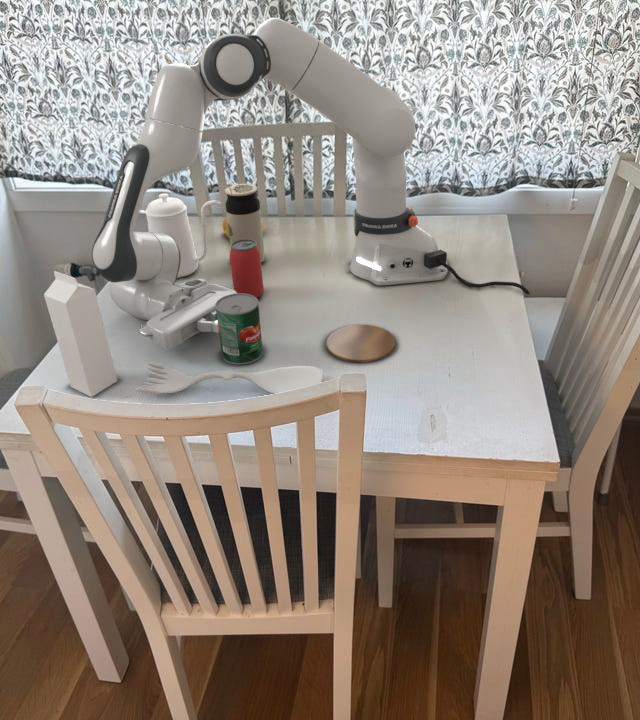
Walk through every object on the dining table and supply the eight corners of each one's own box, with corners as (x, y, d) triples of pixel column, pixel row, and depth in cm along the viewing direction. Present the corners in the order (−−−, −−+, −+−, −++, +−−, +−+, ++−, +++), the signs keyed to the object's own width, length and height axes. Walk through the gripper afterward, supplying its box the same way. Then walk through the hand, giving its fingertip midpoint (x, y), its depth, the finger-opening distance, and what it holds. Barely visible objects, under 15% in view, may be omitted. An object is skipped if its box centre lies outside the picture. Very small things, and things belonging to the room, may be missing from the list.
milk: (96, 371, 127) (68, 263, 115) (118, 381, 124) (91, 271, 112) (70, 387, 123) (38, 277, 111) (91, 398, 119) (60, 285, 108)
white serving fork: (152, 374, 125) (148, 359, 123) (325, 373, 122) (324, 357, 120) (138, 404, 117) (135, 387, 115) (323, 402, 115) (322, 386, 113)
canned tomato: (225, 343, 133) (218, 293, 127) (265, 342, 132) (260, 292, 126) (218, 365, 126) (211, 313, 120) (260, 365, 126) (255, 313, 120)
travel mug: (265, 253, 169) (258, 182, 159) (264, 266, 162) (257, 193, 152) (233, 255, 169) (224, 184, 159) (231, 268, 162) (222, 195, 152)
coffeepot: (224, 279, 157) (214, 201, 147) (121, 280, 160) (104, 203, 150) (233, 260, 166) (224, 185, 156) (135, 260, 169) (120, 187, 159)
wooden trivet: (393, 327, 135) (393, 324, 134) (395, 362, 124) (395, 360, 124) (328, 327, 136) (328, 324, 136) (324, 362, 125) (324, 359, 125)
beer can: (270, 293, 150) (265, 242, 144) (248, 304, 146) (242, 252, 140) (249, 285, 154) (244, 235, 147) (228, 295, 150) (221, 245, 144)
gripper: (130, 315, 127) (182, 335, 120) (206, 275, 141) (257, 290, 133) (136, 344, 131) (187, 365, 123) (210, 301, 144) (259, 318, 137)
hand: (224, 326), depth 129 cm, fingers closed, pressing on canned tomato
